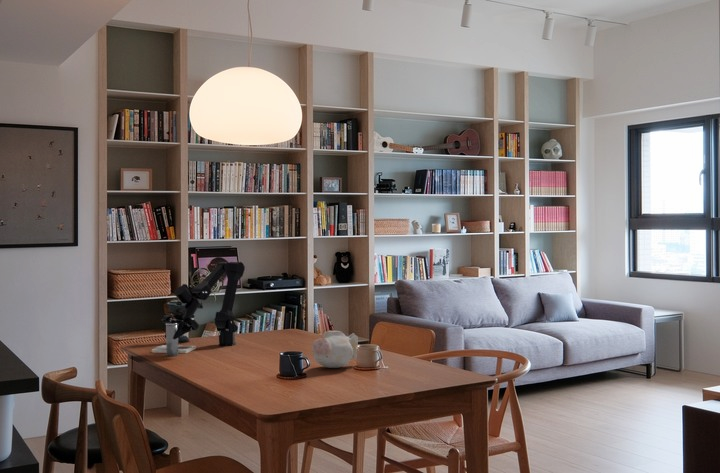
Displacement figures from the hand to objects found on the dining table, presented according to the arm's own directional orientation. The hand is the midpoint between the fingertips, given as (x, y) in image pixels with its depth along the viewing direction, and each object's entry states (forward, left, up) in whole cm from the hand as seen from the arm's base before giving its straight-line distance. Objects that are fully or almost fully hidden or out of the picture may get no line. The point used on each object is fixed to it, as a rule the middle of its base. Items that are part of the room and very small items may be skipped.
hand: (169, 338), depth 336 cm
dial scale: (+3, -13, -8) cm, 16 cm away
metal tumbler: (-1, -1, -8) cm, 8 cm away
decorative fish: (-77, +21, -8) cm, 80 cm away
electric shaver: (+11, -37, -8) cm, 40 cm away
